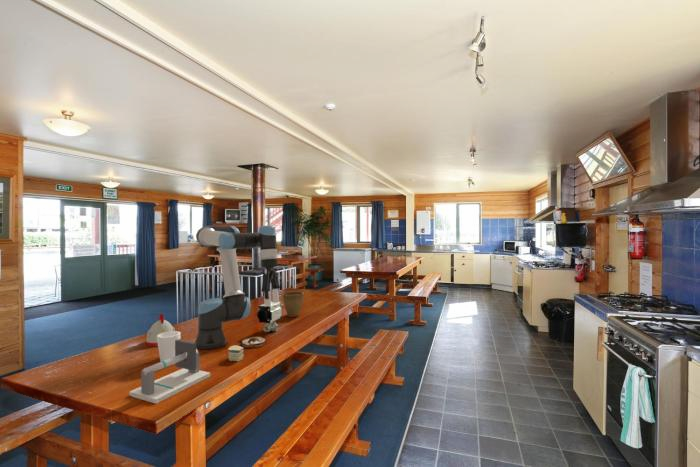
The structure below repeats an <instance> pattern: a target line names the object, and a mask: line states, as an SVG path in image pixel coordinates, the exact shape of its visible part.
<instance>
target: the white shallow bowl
mask: <svg viewBox="0 0 700 467" xmlns="http://www.w3.org/2000/svg"><path fill="white" fill-rule="evenodd" d="M266 343H267V340H266V339H265V338H264V337H262V336H252V337H248V338H244V339H242V340H241V347H243V348H248V349H254V348H255V349H256V348H257V349H258V348H261V347H263V346H265V344H266Z"/></svg>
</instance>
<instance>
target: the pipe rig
mask: <svg viewBox="0 0 700 467" xmlns="http://www.w3.org/2000/svg"><path fill="white" fill-rule="evenodd" d="M198 350H199V349H197V348H196V369H195V370H188V369H184V368H181V369H178V370H176V371H174V372H171V373H169V374H167V375H164V376H162V377H160V378H158V379H155V372H158V371H159V370H162V369H163V370H164V369H165V368H167V367H169V366H172V364H173V365H175V364H174V363H177V362H179V361H182V360H184V359H187V353H186V352H184V353H183V354H180V355H178V356H175V357H172V358H170V359H167V360H165V361H161V362H157V363H154V364H152V365H150V366H147V367H144V368H143V369H142V370H141V371H140V373H141V375H140V377H141V379H140V380H141V382H140V383H141V386H139V387H137V388H135V389H132V390H130V391H129V393H128V394H129V396H130V397H132V398H136V399H139V400H141V401H142V400H143V401H146V402H149V403H153V404H154V405H156V404H159V403H160V402H162V401H164V400H167V399H168V398H171V397H172V396H174V395H176V394H178V393H180V392H182V391H184V390H186V389H188V388H190V387H192V386H194V385H197V384H198V383H199V382H201V381H205V380H206V379H208V378H209V377H211V372H210V371H204V370H200V352H199V351H198Z"/></svg>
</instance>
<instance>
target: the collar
mask: <svg viewBox="0 0 700 467" xmlns="http://www.w3.org/2000/svg"><path fill="white" fill-rule="evenodd" d="M196 349H197V348H196V342H195V341H189V340H184V339H180V340H179V339H178V340H175V356H178V355H180V354H183V353H185V352H186V353H187V359H184V360H182V361H179V362H177V363H175V364H174V367H175V368H176V367H177V368H181V369H183V368H184V369H188V370H195V369H196Z"/></svg>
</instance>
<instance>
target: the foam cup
mask: <svg viewBox="0 0 700 467" xmlns="http://www.w3.org/2000/svg"><path fill="white" fill-rule="evenodd" d="M181 333H182V332H180V331H177V330H175V331H169V332H164V333H160V334H158V335H157V343H158V346H157V348H158V354H159V361H160V362H161V361H165V360H167V359H170V358H172V357H175V340H178V339H179V340H181V339H182V338H181V336H182V335H181ZM160 362H159V363H160ZM172 365H175V363H174V364H172ZM172 365H171V366H172Z"/></svg>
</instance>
